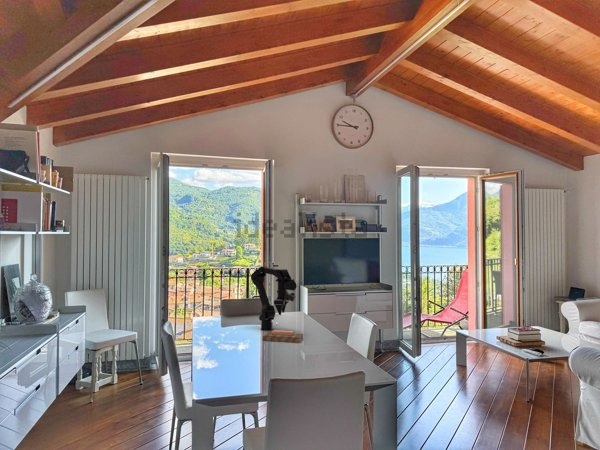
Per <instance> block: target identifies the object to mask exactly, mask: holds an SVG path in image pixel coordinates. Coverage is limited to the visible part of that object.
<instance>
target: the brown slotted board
mask: <svg viewBox="0 0 600 450" xmlns="http://www.w3.org/2000/svg"><path fill="white" fill-rule="evenodd" d="M303 339H304V333H297V332H296V333H295V332H294V335H293V336H288V335H273V331H266V332H265V333H264V334H263V335H262V341H263V342H264V341H265V342H276V343H277V342H278V343H279V342H280V343H294V344H295V343H296V344H300V343H301V342H302V341H303Z"/></svg>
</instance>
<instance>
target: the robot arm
mask: <svg viewBox="0 0 600 450" xmlns="http://www.w3.org/2000/svg"><path fill="white" fill-rule="evenodd" d="M267 274H268V275H272V276H274V277H275V278H276V279H275V282H276V283H277V290H276V293H277V297H276V298H275V299H274V300H273V305H272V304H270V301H269V297H268V295H267V291H266V288H265V285H264V283H265V282H264V281H265V277H266V275H267ZM250 280H251V282H252V284H253V285H254V286H255V287H256V289H257V293H258V296H259V300H260V302H261V306H262V307H261V314H260V315H259V317H258V320H259V321H260V322H261V323H260V324H261V325H260V326H261V327H260V331H267V332H271V330H273V322H272V321H274V319H275V316H276V311H277V313H278V315H279V316H282V313H285V311H286V308H287V304H288V303H289V302H290V301H291V302H294V301H295V299H296V294H295V292H292V293H289V291H296V289H297V287H298V286H297V282H296V281H295V279H292V277H291V275H290V272H289V271H288V269H286V268H281V269H279V268H278V269H277V268H273V267H269V266H265V265H264V266H263V265H262V266H259V267H258V268H257V269H256V270H255V271H253V272H252V273H251V275H250ZM275 308H276V309H275Z"/></svg>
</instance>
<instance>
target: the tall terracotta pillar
mask: <svg viewBox="0 0 600 450" xmlns="http://www.w3.org/2000/svg"><path fill="white" fill-rule="evenodd" d="M272 332H273V335H288V336H293V335H294V333H295V332H294V330H279V329H278V330H277V329H276V330H275V329H274V330H272Z"/></svg>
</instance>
